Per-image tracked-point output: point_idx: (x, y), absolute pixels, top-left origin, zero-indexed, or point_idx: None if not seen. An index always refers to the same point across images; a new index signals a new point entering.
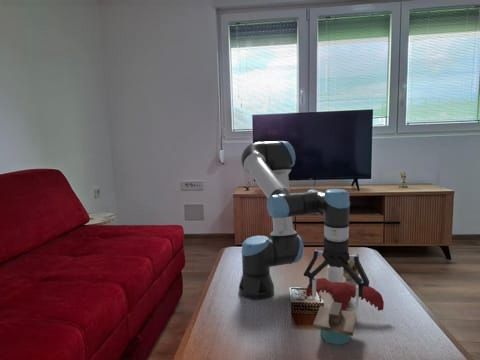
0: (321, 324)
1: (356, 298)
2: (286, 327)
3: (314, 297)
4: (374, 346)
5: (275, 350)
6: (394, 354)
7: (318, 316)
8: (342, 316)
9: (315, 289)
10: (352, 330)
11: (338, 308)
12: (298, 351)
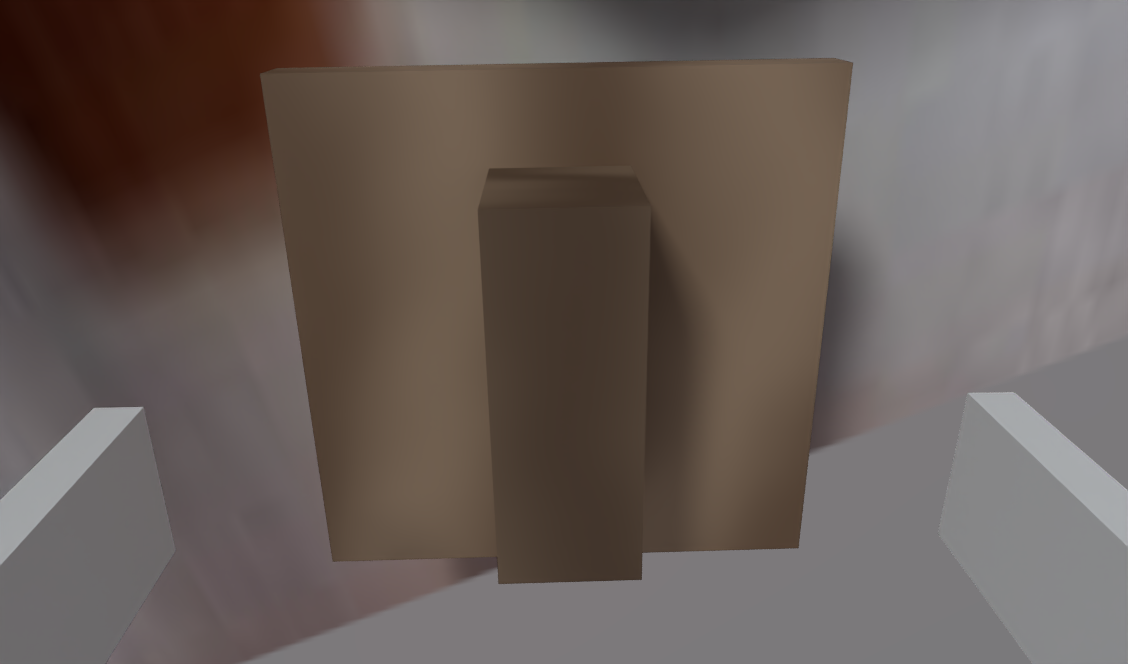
0: (426, 532)
1: (1044, 654)
2: (22, 314)
3: (164, 566)
4: (952, 277)
5: (125, 649)
6: (1120, 325)
7: (336, 381)
8: (652, 253)
9: (78, 582)
10: (794, 512)
11: (616, 399)
12: (302, 594)
